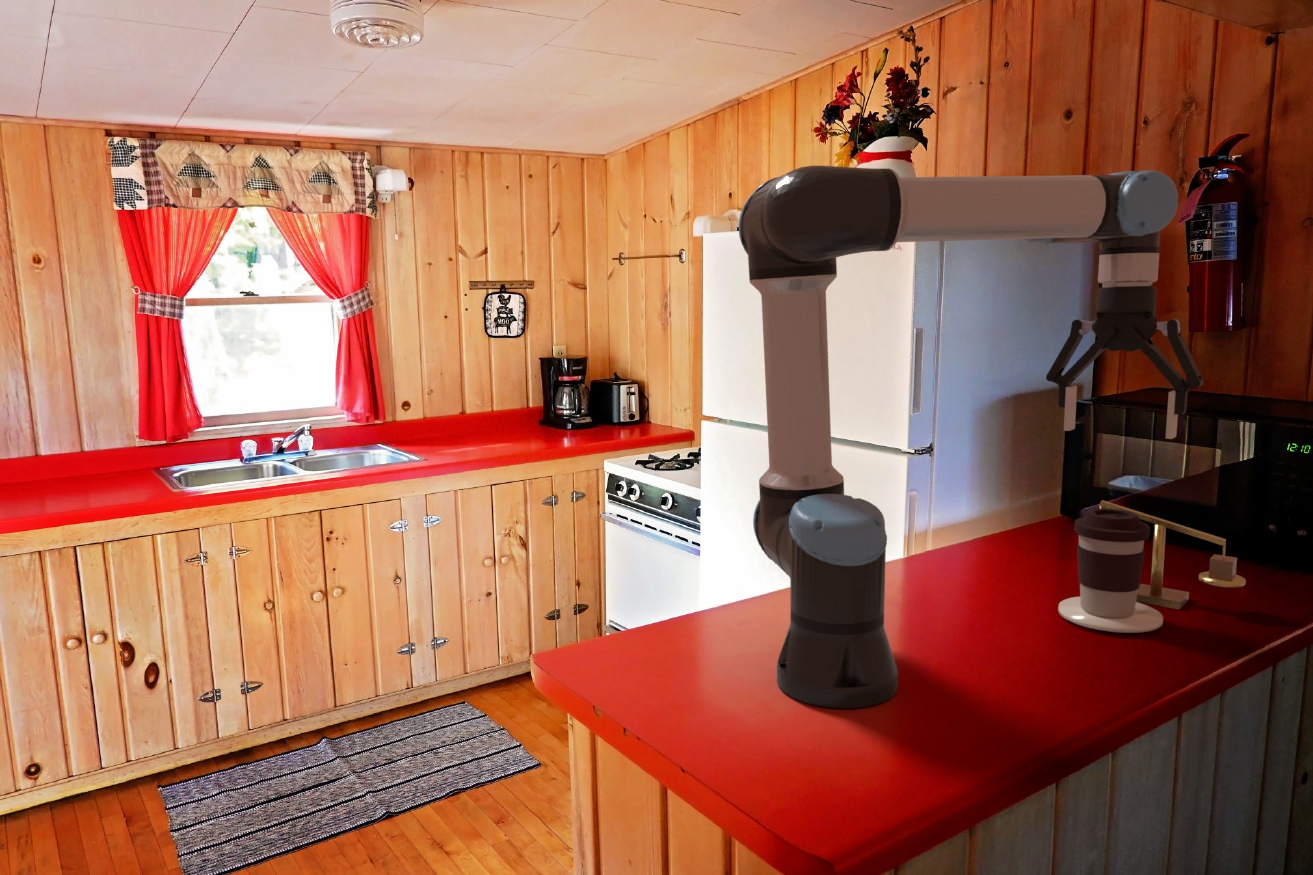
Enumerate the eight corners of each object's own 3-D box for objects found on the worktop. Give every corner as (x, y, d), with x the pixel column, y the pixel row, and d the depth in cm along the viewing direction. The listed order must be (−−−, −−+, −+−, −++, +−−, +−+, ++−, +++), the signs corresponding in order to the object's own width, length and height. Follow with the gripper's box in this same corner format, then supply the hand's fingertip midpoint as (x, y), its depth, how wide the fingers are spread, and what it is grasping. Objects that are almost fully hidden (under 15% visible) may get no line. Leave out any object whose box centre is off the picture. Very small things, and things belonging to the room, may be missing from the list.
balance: (1238, 620, 134) (1246, 522, 132) (1071, 589, 150) (1075, 501, 148) (1246, 609, 139) (1253, 514, 136) (1083, 580, 154) (1087, 495, 152)
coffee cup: (1074, 618, 133) (1079, 519, 131) (1067, 597, 142) (1072, 504, 140) (1150, 625, 130) (1156, 523, 127) (1138, 603, 139) (1144, 507, 137)
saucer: (1148, 644, 126) (1148, 635, 126) (1044, 622, 135) (1045, 614, 135) (1173, 616, 137) (1173, 608, 136) (1075, 598, 146) (1075, 590, 146)
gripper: (1235, 282, 123) (1223, 437, 126) (1045, 287, 139) (1039, 423, 143) (1223, 282, 117) (1211, 444, 121) (1027, 287, 134) (1021, 429, 137)
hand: (1118, 433), depth 132 cm, fingers open, 13 cm apart
